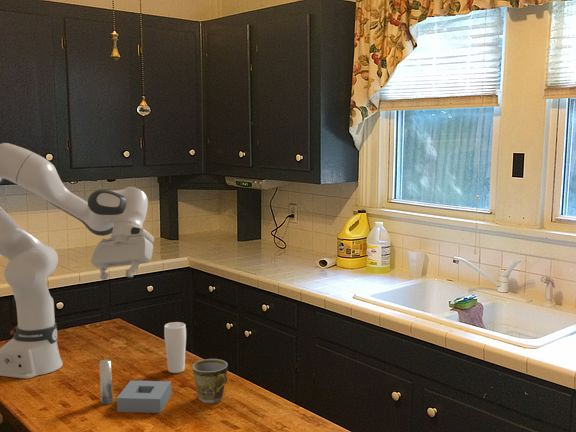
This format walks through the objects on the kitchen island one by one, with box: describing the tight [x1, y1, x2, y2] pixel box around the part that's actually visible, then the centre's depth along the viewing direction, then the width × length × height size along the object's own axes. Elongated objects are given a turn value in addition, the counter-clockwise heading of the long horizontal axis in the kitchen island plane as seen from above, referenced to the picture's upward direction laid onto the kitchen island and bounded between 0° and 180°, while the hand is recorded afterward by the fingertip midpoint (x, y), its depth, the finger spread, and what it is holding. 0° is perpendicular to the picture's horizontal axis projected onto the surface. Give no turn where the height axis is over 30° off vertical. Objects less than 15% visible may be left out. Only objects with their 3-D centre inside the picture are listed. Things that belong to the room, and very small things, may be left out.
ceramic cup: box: [192, 358, 229, 404], centre depth 183 cm, size 13×10×10 cm
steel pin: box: [99, 358, 114, 405], centre depth 182 cm, size 3×3×12 cm
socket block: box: [116, 380, 173, 414], centre depth 182 cm, size 12×12×4 cm
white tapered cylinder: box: [163, 321, 187, 374], centre depth 204 cm, size 7×7×15 cm
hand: (116, 277), depth 192 cm, fingers open, 8 cm apart
